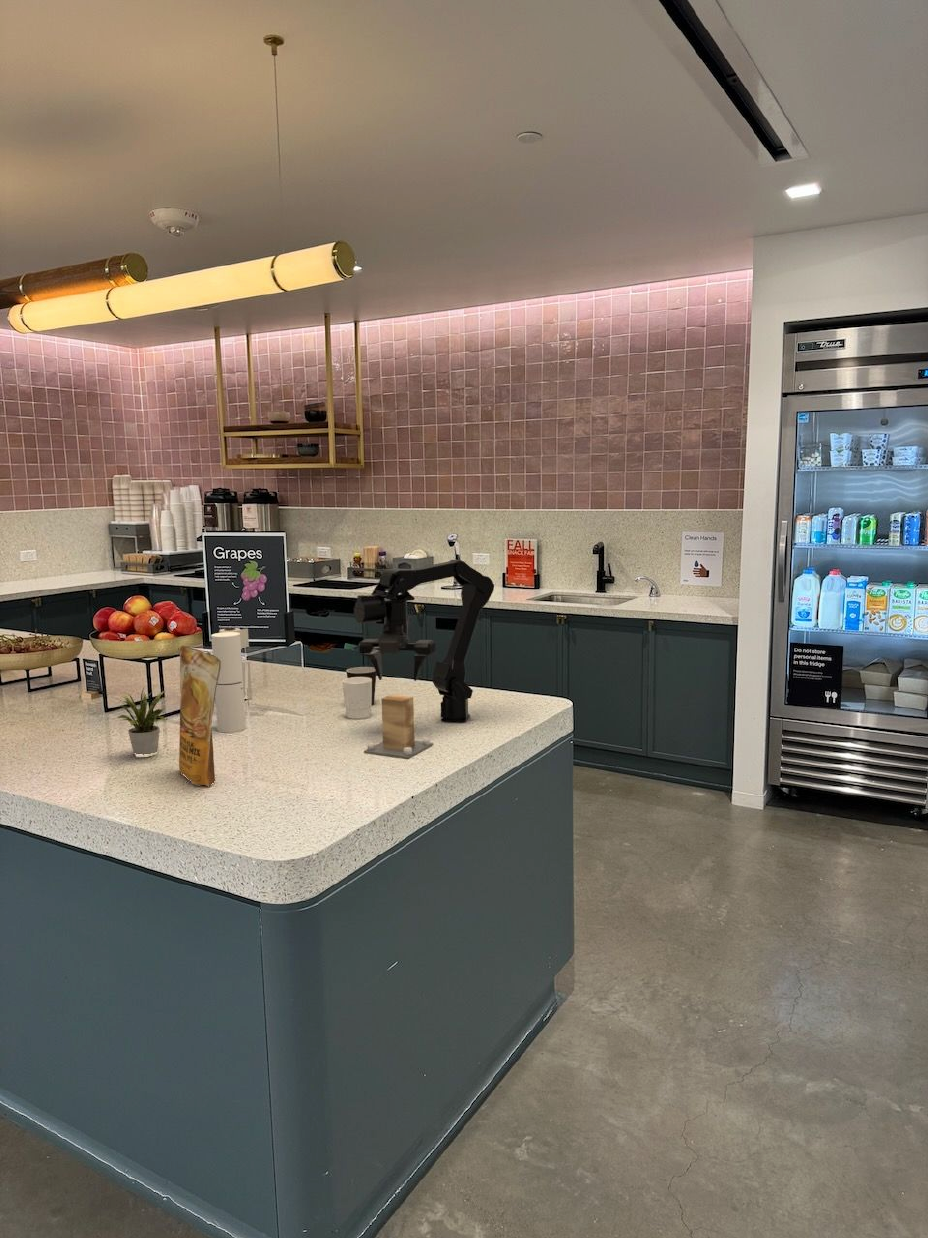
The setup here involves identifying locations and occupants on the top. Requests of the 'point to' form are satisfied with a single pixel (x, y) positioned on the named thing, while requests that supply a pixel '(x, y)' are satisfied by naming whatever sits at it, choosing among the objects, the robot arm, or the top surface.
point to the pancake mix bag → (197, 714)
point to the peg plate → (404, 754)
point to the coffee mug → (364, 672)
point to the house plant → (143, 725)
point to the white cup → (358, 697)
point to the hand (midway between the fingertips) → (397, 680)
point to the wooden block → (398, 722)
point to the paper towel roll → (244, 644)
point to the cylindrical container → (229, 682)
